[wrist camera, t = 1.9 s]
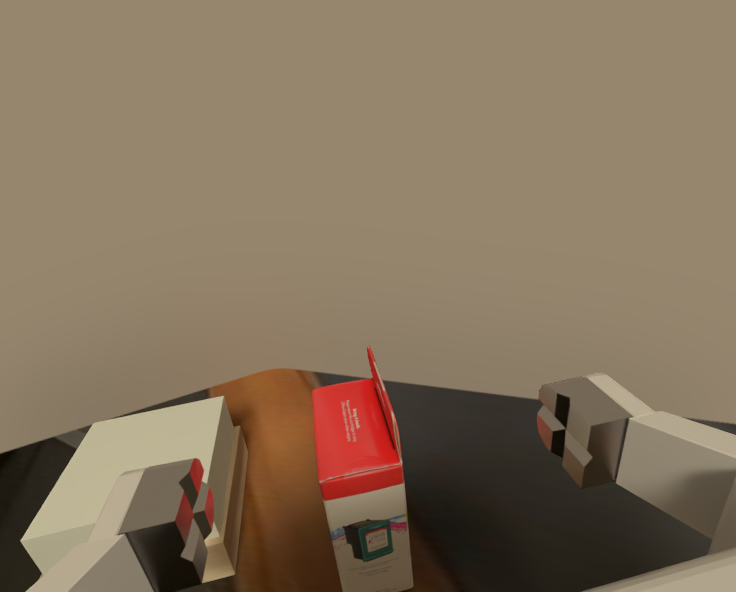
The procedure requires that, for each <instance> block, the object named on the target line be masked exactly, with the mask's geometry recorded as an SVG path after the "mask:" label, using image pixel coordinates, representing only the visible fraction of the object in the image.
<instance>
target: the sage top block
mask: <svg viewBox="0 0 736 592" xmlns="http://www.w3.org/2000/svg"><path fill="white" fill-rule="evenodd" d="M233 436H234V427H233V424H232V421H231V417H230V414H229V411H228V408H227V404H226V401H225V398H224V396H221V397H216V398H211V399H206V400H202V401H197V402H192V403H187V404H182V405H178V406H173V407H168V408H163V409H159V410H154V411H149V412H144V413H140V414H135V415H130V416H125V417H120V418H116V419H111V420H106V421H101V422H97V423H93V425H92V427H91V428H90V430H89V431H88V433H87V435H86V436H85V438H84V439H83V441H82V443H81V444H80V446H79V447H78V449H77V451H76V452H75V454H74V456H73V457H72V459H71V460H70V462H69V464H68V465H67V467H66V468H65V470H64V472H63V473H62V475H61V476H60V478H59V480H58V481H57V483H56V485H55V486H54V488H53V489H52V491H51V493H50V494H49V496H48V497H47V499H46V501H45V502H44V504H43V505H42V507H41V509H40V510H39V512H38V514H37V515H36V517H35V518H34V520H33V522H32V523H31V525H30V526H29V528H28V530H27V531H26V533H25V535H24V536H23V538H22V539H21V543H22V544H23V546H24V547H25V549H26V550H27V552H28V553H29V555H30V556H31V557H32V559H33V560H34V562H35V563H36V565H37V566H38V568H39V569H40V571H41V572H42V573H43V575H45V574H46V573H47V572H48V571H49V570H50V569H51V568H53V567H54V566H55V565H56V564H57V563H58V562H59V561H60V560H61V559H62V558H64V557H65V556H66V555H67V554H68V553H69V552H70V551H71V550H72V549H73V548H75V547H76V546H77V545H78V544H83V543H86V542H87V540H88V538H89V536H90V533H91V531H92V529H93V527H94V525H95V523H96V521H97V519H98V517H99V515H100V513H101V511H102V509H103V507H104V505H105V503H106V501H107V499H108V497H109V495H110V493H111V491H112V489H113V487H114V485H115V483H116V481H117V479H118V477H119V476H120V475H121V474H122V473H124V472H125V471H131V470H136V469H142V468H148V467H150V466H155V465H161V464H166V463H171V462H177V461H182V460H187V459H193V458H197V459H200V462H201V464H202V467H203V469H204V473H203V478H202V481H203V482H204V483H206V484H208V485H209V486H210V489H211V491H212V495H213V501H214V522H213V528H212V532H211V533H210V534H209V536H208V537H207V538H206V539H205V540H208V539H212V538H215V537H219V536H220V531H221V523H222V516H223V509H224V501H225V494H226V487H227V480H228V472H229V465H230V458H231V451H232V443H233Z"/></svg>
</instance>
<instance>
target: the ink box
mask: <svg viewBox="0 0 736 592" xmlns="http://www.w3.org/2000/svg"><path fill="white" fill-rule="evenodd" d="M367 352H368V359H369V363H370V367H371V372H372V375H373V378H371V379H364V380H357V381H351V382H345V383H340V384H335V385H329V386H325V387H321V388H317V389H314V390H312V403H313V417H314V434H315V447H316V458H317V470H318V478H319V484H320V488H321V492H322V497H323V501H324V506H325V511H326V515H327V520H328V525H329V529H330V534H331V538H332V543H333V548H334V553H335V557H336V562H337V567H338V571H339V576H340V581H341V586H342V590H343V592H399V591H403V590H407V589H410V588H412V587H413V585H414V584H413V574H412V564H411V553H410V541H409V529H408V518H407V506H406V495H405V484H404V472H403V461H402V454H401V446H400V437H399V431H398V425H397V422H396V418H395V415H394V412H393V409H392V406H391V403H390V401H389V398H388V395H387V392H386V389H385V387H384V384H383V381H382V379H381V376H380V373H379V370H378V367H377V365H376V362H375V359H374V356H373V353H372V351H371V348H370V346H367Z"/></svg>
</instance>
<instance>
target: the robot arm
mask: <svg viewBox="0 0 736 592" xmlns="http://www.w3.org/2000/svg"><path fill="white" fill-rule="evenodd" d="M539 400H540V401H541V402H542V403H543V406H542V408H541V409H540V410H539V412H538V413H537V427H538V431H539V434H540V437H541V439H542V441H543V442H544V444H545V445H546V447H547V448H548V449H549V450H550V452H552V453H554V454H556V455H558V456H560V457H562V466H563V468H564V469H565V470H566V471H567V472H568V474H569V475H570V476H571V477H572V478H573V480H574V481H575V482H576V483H577V484H578V486H579V487H580V488H581V489H583V488H587V487H592V486H597V485H601V484H606V483H610V482H615V481H616V484H618V485H620V486H621V487H623V488H625V489H627V490H628V491H630V492H632V493H633V494H635V495H637V496H639V497H640V498H642V499H644V500H645V501H647V502H649V503H651V504H652V505H654V506H656V507H657V508H659V509H661V510H663V511H664V512H666V513H668V514H669V515H671V516H673V517H675V518H676V519H678V520H680V521H681V522H683V523H685V524H687V525H688V526H690V527H692V528H693V529H695V530H697V531H699V532H700V533H702V534H704V535H705V536H707V537H709V538H711V539H712V543H711V546H710V548H709V551H708V554H707V556H703V557H700V558H697V559H693V560H690V561H686V562H683V563H679V564H676V565H672V566H669V567H665V568H662V569H658V570H655V571H651V572H648V573H644V574H641V575H637V576H634V577H630V578H627V579H624V580H620V581H617V582H613V583H610V584H606V585H603V586H599V587H596V588H592V589H589V590H585V591H582V592H736V435H733V434H730V433H727V432H724V431H721V430H718V429H715V428H712V427H709V426H706V425H703V424H700V423H697V422H694V421H691V420H688V419H685V418H682V417H679V416H676V415H673V414H669V413H666V412H663V411H660V412H655V411H653V410H652V409H651V408H649V407H648V406H647V405H646V404H644V403H643V402H642V401H640V400H639V399H637V398H636V397H635V396H633V395H632V394H631V393H630V392H628V391H627V390H626V389H624V388H623V387H622V386H620V385H619V384H618V383H617V382H615V381H614V380H612V379H611V378H610V377H608V376H607V375H606V374H603V373H600V372H598V373H593V374H589V375H584V376H580V377H578V378H573V379H568V380H563V381H559V382H554V383H550V384H545V385H542V387H541V388H540V390H539ZM203 473H204V469H203V467H202V464H201V462H200V459H197V458H193V459H187V460H182V461H177V462H171V463H166V464H161V465H155V466H150V467H148V468H142V469H136V470H131V471H125V472H124V473H122V474H121V475H120V476H119V477H118V479H117V481H116V483H115V485H114V487H113V489H112V491H111V493H110V495H109V497H108V499H107V501H106V503H105V505H104V507H103V509H102V511H101V513H100V515H99V517H98V519H97V521H96V523H95V525H94V527H93V529H92V531H91V533H90V536H89V538H88V540H87V542H86V543H83V544H78V545H77V546H76V547H75V548H73V549H72V550H71V551H70V552H69V553H68V554H67V555H66V556H65V557H64V558H62V559H61V560H60V561H59V562H58V563H57V564H56V565H55V566H54V567H53V568H51V569H50V570H49V571H48V572H47V573H46V574H45V575H44V576H43V577H41V578H40V579H39V580H38V581H37V582H36V583H35V584H34V585H33V586H32V587H30V588H29V589H28V590H27V591H26V592H174V591H178V590H181V589H185V588H189V587H192V586H196V585H199V584H202V581H203V576H204V570H205V565H206V560H207V555H208V550H207V547H206V544H205V542H204V540H205V539H206V538H207V537H208V536H209V534H210V533H211V532H212V528H213V522H214V501H213V495H212V491H211V489H210V486H209V485H208V484H206V483H204V482H203V481H202V478H203Z"/></svg>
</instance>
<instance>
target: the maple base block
mask: <svg viewBox="0 0 736 592" xmlns="http://www.w3.org/2000/svg"><path fill="white" fill-rule="evenodd" d="M247 462H248V450H247V446H246V443H245V440H244V436H243V433H242V430H241V426H240V425H239V426H235V427H234V436H233V443H232V451H231V458H230V465H229V472H228V480H227V487H226V494H225V501H224V509H223V516H222V523H221V531H220V536H219V537H215V538H212V539H208V540H204V542H205V544H206V547H207V550H208V555H207V560H206V565H205V570H204V576H203V581H202V583H204V582H208V581H212V580H216V579H220V578H224V577H227V576H231V575H235V572H236V563H237V554H238V544H239V535H240V526H241V517H242V508H243V499H244V489H245V480H246V471H247ZM43 576H44V575H43V573H42V575H41V576H40V578H41V577H43ZM40 578H39V579H40Z"/></svg>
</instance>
